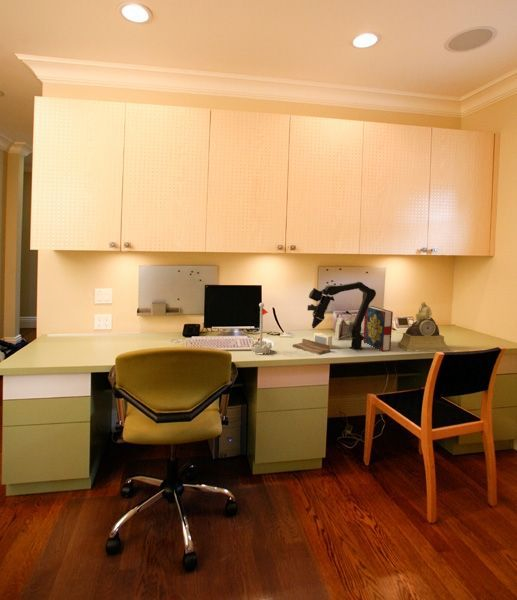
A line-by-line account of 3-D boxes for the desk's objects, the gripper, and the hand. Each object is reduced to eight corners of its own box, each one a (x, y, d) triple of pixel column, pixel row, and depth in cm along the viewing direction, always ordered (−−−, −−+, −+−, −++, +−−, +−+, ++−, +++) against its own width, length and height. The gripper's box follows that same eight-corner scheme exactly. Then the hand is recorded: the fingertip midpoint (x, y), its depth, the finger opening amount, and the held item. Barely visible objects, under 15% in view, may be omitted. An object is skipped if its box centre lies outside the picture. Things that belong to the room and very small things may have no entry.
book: (361, 342, 266) (362, 305, 263) (370, 341, 268) (372, 305, 264) (381, 351, 242) (383, 312, 238) (391, 351, 243) (393, 311, 240)
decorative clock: (406, 351, 244) (409, 303, 240) (397, 345, 257) (400, 300, 253) (449, 350, 247) (453, 303, 243) (438, 345, 260) (442, 300, 256)
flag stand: (245, 351, 236) (246, 302, 232) (259, 348, 246) (260, 300, 242) (261, 356, 227) (262, 305, 223) (275, 352, 237) (277, 302, 233)
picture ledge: (303, 344, 256) (303, 338, 255) (329, 351, 239) (329, 345, 239) (292, 346, 249) (292, 340, 249) (318, 354, 233) (319, 347, 232)
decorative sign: (349, 337, 289) (351, 317, 289) (352, 337, 288) (354, 317, 287) (334, 339, 271) (336, 318, 270) (337, 340, 270) (339, 318, 269)
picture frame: (317, 344, 257) (317, 332, 256) (331, 348, 248) (332, 336, 247) (313, 345, 254) (313, 333, 253) (327, 349, 245) (327, 336, 244)
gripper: (310, 298, 252) (300, 320, 253) (312, 299, 233) (301, 323, 234) (326, 305, 251) (316, 327, 252) (329, 307, 232) (318, 331, 234)
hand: (312, 327), depth 243 cm, fingers open, 9 cm apart
